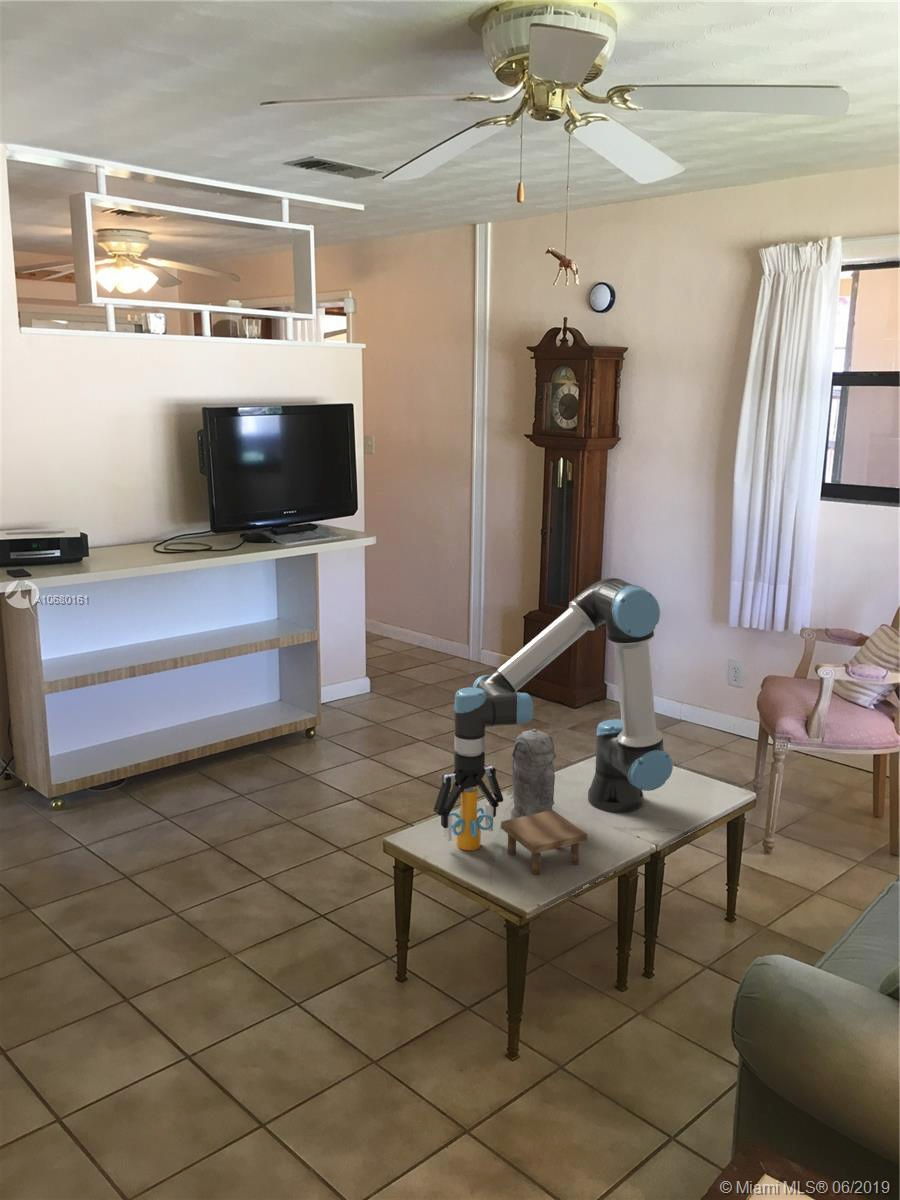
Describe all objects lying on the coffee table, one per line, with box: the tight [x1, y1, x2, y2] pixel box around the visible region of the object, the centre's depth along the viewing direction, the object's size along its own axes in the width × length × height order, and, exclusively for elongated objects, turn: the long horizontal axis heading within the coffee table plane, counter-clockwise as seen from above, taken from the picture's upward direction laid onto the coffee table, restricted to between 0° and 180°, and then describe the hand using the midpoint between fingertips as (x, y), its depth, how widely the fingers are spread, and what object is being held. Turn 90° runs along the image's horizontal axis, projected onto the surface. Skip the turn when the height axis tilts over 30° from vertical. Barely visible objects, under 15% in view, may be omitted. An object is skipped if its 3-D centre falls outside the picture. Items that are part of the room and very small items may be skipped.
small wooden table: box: [500, 809, 588, 876], centre depth 233 cm, size 15×15×8 cm
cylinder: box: [450, 787, 494, 851], centre depth 238 cm, size 12×10×15 cm
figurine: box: [509, 728, 557, 819], centre depth 252 cm, size 10×14×25 cm
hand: (468, 833), depth 239 cm, fingers closed on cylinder, 11 cm apart
